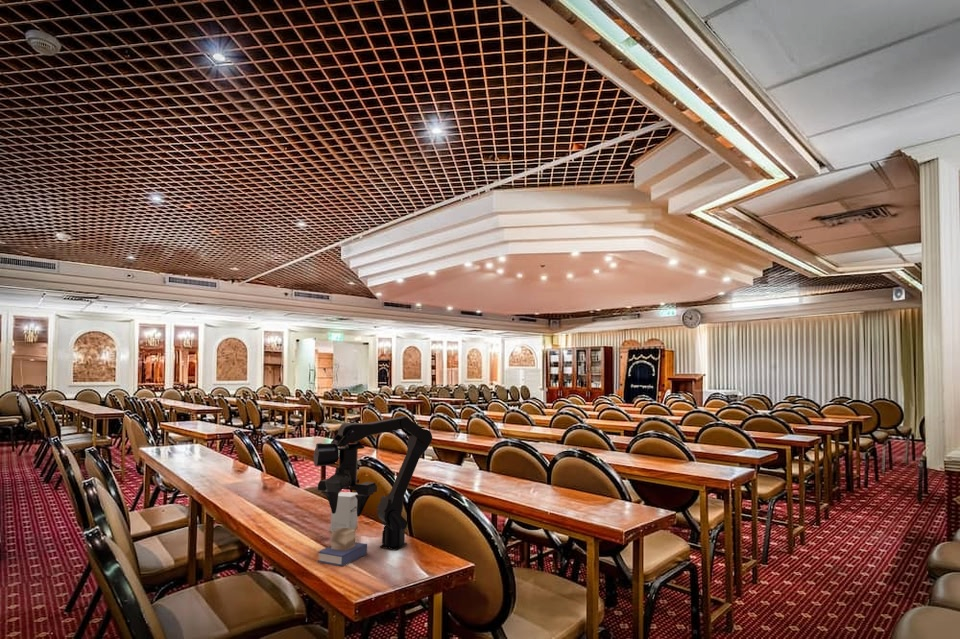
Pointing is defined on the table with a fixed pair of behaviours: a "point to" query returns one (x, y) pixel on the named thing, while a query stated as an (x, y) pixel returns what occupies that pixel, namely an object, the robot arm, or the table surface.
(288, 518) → the table surface
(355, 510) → the supplement box
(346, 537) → the beech block
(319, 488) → the robot arm
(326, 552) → the navy book
